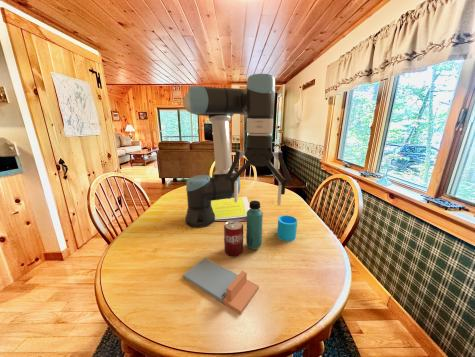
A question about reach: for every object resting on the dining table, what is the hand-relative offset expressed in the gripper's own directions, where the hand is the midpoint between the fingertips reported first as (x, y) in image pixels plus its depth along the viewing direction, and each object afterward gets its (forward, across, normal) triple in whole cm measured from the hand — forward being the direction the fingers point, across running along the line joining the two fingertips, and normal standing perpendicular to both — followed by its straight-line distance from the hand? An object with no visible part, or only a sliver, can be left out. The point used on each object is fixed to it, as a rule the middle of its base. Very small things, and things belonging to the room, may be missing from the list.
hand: (257, 202), depth 62 cm
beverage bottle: (+24, -1, +10) cm, 27 cm away
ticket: (+24, -13, -8) cm, 29 cm away
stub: (+24, -3, -13) cm, 28 cm away
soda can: (+24, -9, +6) cm, 27 cm away
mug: (+25, +12, +23) cm, 36 cm away
